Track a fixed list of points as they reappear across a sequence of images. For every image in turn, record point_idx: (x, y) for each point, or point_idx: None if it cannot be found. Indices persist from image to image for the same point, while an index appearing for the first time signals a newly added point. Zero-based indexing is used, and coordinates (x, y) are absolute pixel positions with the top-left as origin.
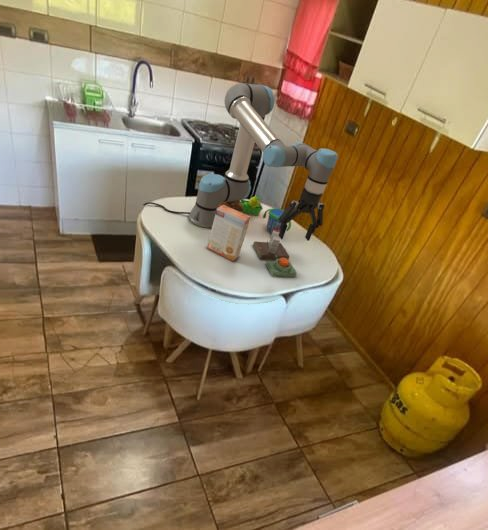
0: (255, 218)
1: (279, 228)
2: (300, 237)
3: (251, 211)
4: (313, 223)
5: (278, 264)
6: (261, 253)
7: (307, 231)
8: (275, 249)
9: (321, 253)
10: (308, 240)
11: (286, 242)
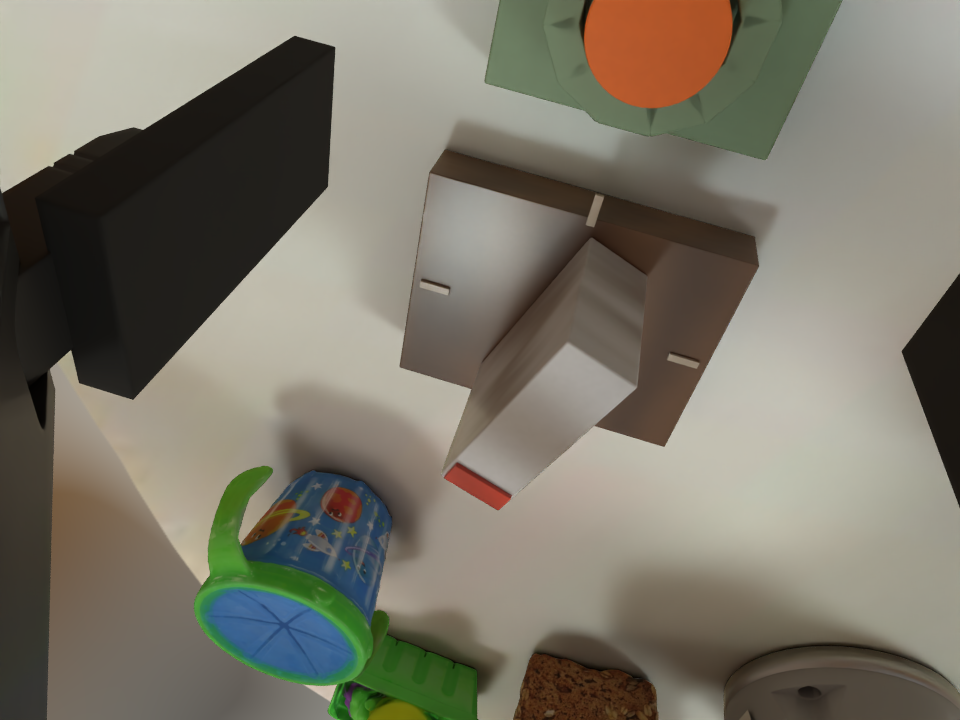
0: (410, 616)
1: (315, 505)
2: (152, 390)
3: (418, 671)
4: (27, 371)
5: (751, 16)
6: (740, 286)
7: (259, 250)
8: (596, 276)
9: (31, 172)
10: (308, 42)
11: (307, 372)
